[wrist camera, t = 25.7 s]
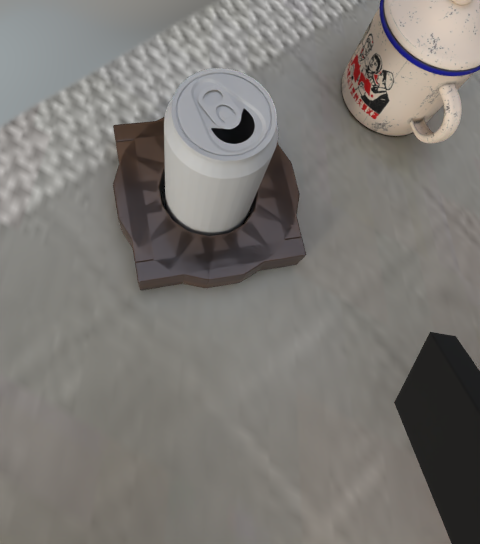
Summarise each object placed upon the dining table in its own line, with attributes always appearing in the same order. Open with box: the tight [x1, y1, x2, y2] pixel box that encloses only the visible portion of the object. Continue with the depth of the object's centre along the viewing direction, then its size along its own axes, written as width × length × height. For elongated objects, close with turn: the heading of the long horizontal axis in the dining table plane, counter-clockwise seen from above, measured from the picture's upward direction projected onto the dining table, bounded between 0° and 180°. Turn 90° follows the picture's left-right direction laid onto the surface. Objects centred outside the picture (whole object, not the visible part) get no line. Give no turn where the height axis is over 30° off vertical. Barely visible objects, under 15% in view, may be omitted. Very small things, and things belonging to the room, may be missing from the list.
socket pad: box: [113, 117, 306, 290], centre depth 34 cm, size 13×13×2 cm
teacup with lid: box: [342, 0, 480, 143], centre depth 35 cm, size 12×9×12 cm
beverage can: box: [164, 68, 278, 236], centre depth 30 cm, size 6×6×12 cm
